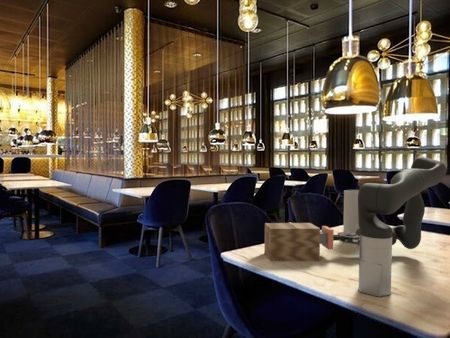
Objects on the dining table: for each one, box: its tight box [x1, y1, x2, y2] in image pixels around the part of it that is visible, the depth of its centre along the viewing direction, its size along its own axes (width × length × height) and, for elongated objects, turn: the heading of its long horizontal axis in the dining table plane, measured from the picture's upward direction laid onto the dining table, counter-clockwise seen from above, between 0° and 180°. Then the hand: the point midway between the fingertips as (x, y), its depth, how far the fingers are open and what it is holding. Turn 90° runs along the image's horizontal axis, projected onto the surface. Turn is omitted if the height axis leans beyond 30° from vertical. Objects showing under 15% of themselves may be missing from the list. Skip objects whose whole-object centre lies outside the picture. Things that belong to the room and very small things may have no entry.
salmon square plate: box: [320, 225, 335, 250], centre depth 144 cm, size 20×8×8 cm, turn 94°
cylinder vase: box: [342, 189, 359, 233], centre depth 172 cm, size 12×12×25 cm
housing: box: [264, 221, 321, 262], centre depth 143 cm, size 20×12×13 cm, turn 94°
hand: (329, 237), depth 144 cm, fingers closed
